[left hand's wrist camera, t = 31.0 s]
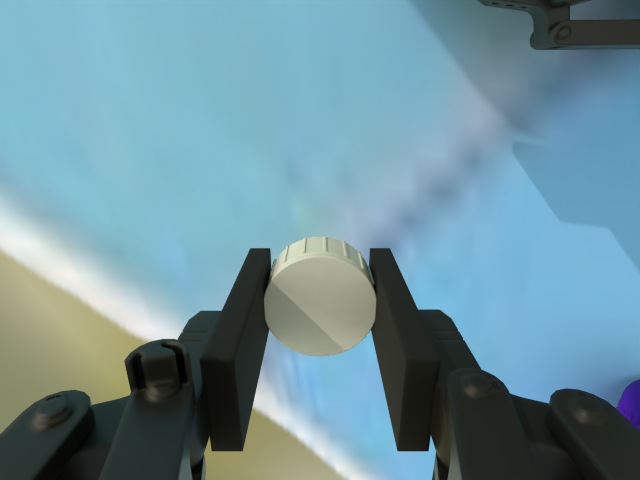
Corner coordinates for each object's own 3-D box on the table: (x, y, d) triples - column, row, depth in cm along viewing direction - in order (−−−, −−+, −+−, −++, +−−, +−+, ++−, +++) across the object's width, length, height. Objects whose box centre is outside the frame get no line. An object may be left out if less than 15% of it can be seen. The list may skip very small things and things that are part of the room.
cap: (247, 274, 15) (236, 299, 13) (330, 213, 14) (332, 231, 12) (311, 343, 16) (309, 375, 14) (391, 291, 15) (401, 318, 13)
